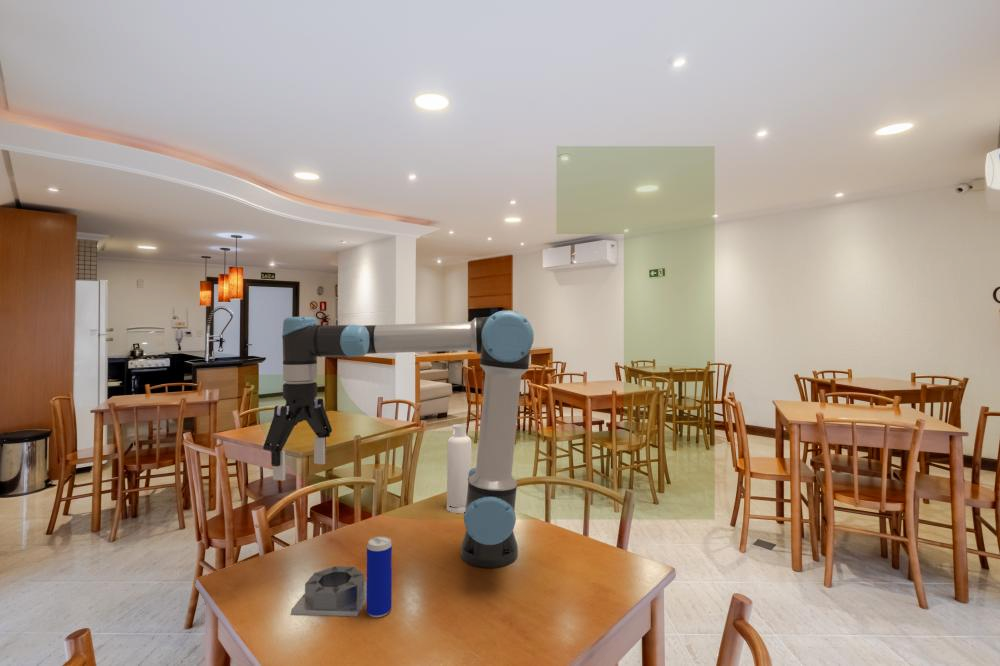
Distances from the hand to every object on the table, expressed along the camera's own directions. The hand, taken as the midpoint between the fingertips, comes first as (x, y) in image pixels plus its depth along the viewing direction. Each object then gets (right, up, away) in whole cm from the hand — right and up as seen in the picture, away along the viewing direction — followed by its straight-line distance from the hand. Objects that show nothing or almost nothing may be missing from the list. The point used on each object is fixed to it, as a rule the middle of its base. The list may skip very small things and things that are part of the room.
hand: (300, 471), depth 113 cm
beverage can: (+22, -27, -12) cm, 36 cm away
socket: (+11, -26, -8) cm, 29 cm away
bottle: (+34, -26, +47) cm, 63 cm away
